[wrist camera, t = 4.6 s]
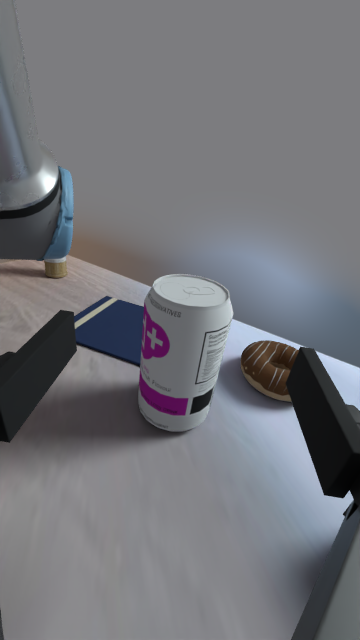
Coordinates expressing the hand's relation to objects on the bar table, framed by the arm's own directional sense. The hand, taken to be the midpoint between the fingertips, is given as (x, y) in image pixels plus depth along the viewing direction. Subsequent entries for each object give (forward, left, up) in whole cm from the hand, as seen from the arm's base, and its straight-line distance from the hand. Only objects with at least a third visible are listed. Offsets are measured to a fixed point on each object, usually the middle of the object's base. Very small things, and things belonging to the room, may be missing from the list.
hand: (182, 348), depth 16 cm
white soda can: (-3, +9, -16) cm, 18 cm away
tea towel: (-15, +21, -15) cm, 30 cm away
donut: (+8, +20, -16) cm, 27 cm away
